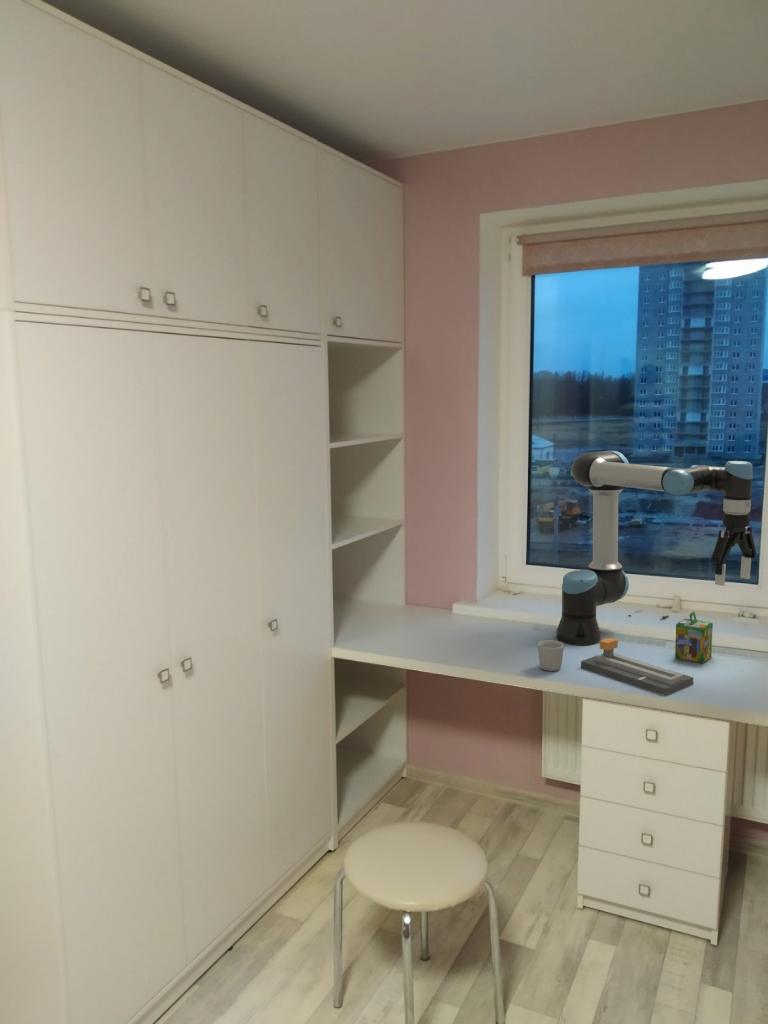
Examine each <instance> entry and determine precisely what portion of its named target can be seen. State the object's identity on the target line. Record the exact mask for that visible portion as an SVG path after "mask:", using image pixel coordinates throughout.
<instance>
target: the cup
mask: <svg viewBox="0 0 768 1024" xmlns="http://www.w3.org/2000/svg"><path fill="white" fill-rule="evenodd" d="M564 644H565V643H564V642H561V641H559V640H558V641H557V640H549V639H548V640H541V641H539V642H538V643H537V652H538V661H539V667H540V668H541V669H542V670H544V671H547V672H554V671H558V670H561V667H562V665H563V658H564V657H563V656H564V648H565V645H564Z"/></svg>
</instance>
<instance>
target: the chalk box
mask: <svg viewBox="0 0 768 1024" xmlns="http://www.w3.org/2000/svg"><path fill="white" fill-rule="evenodd" d="M713 625H714V624H713V622H709V621H704V620H699V619H697V616H696V612H695V611H694V610H693V611H692V612H691V613H689V618H684V619H682V620H680V621H678V622H677V623H676V624H675V646H674V647H675V648H674V649H675V650H674V652H675V653H674V659H677V660H678V659H679V660H682V661H683V660H684V661H689V662H696V663H700V664H704V663H705V662H706V661H708V660H709V659H710V658H711V657H712V651H713V650H712V649H713Z"/></svg>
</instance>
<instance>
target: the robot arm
mask: <svg viewBox="0 0 768 1024" xmlns="http://www.w3.org/2000/svg"><path fill="white" fill-rule="evenodd" d="M571 474H572V478H573V479H574V481H575V482H576V483H577V484H578V485H581V486H583V487H588V490H589V492H590V493H591V494H592V560H591V562H590V563H589V564H588V569H580V570H578V569H577V570H572V571H569V572H567V573H565V575H564V576H563V578H562V584H561V618H560V621H559V623H558V626H557V629H556V631H555V633H556V639H557V640H558V642H561V643H563V644H568V645H574V646H575V645H576V646H591V645H595V644H598V643H600V641H601V640H602V633H601V631H600V627H599V623H598V620H597V607H599V606H602V605H606V604H612V603H615V602H617V601H620V600H622V599H623V598H624V597H626V594H627V593H628V590H629V586H630V583H629V582H630V581H629V577H628V576H627V575H626V572H625V571H624V570H623V565H622V564H621V563H620V562H619V558H618V557H619V494H620V493H621V492H622V491H624V488H631V489H632V488H633V489H641V490H648V491H649V490H650V491H657V492H659V491H660V492H666V493H668V494H670V495H672V496H673V495H674V496H682V495H683V496H684V495H687V494H692V493H700V492H705V491H708V492H709V491H711V492H721V493H723V504H722V505H723V506H722V511H723V514H722V523H721V524H722V525H723V526H725V530H721V529H720V530H719V531H718V536H717V541H716V544H715V547H714V550H713V552H712V556H711V559H710V562H711V563H712V564H715V569H714V570H715V573H714V574H715V575H714V576H715V578H714V585H718V586H723V587H724V586H725V585H726V566H727V564H726V563H725V561H726V560H727V558H728V556H729V554H730V552H731V550H732V548H733V547H735V545H737V546H738V548H739V550H740V551H741V554H742V556H741V558H740V559H741V560H740V577H739V578H741V579H746V580H750V579H751V566H752V558H753V559H754V558H755V557H756V554H757V550H756V547H755V546H756V545H755V541H754V537H753V529H752V526H750V523H751V515H750V513H751V506H752V504H751V502H752V488H753V487H752V486H753V479H754V475H753V463H751V462H749V461H745V460H744V461H743V460H740V461H739V460H729V461H727V462H726V463H725V465H724V466H713V465H712V466H711V465H706V464H701V465H700V464H693V465H691V466H690V467H689V468H687V467H686V468H678V467H668V466H657V465H656V466H655V465H646V464H634V463H629V461H628V459H627V458H626V457H625V455H624V454H623V453H621V452H619V451H617V450H600V451H593V452H591V451H590V452H584V453H582V454H580V455H578V456H577V457H576V458H575V459H574V461H573V463H572V465H571Z"/></svg>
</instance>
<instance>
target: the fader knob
mask: <svg viewBox="0 0 768 1024" xmlns="http://www.w3.org/2000/svg"><path fill="white" fill-rule="evenodd" d="M618 641H619V640H618V639H615V638H611V637H608V638H605V639H601V641H600V642H599V649H601V650H602V651H603V652H602V654H603V656H605V657H608V658H612V659H613V653H614V649H617V648H618V647H619V646H618V645H619V644H618V643H619V642H618Z"/></svg>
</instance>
